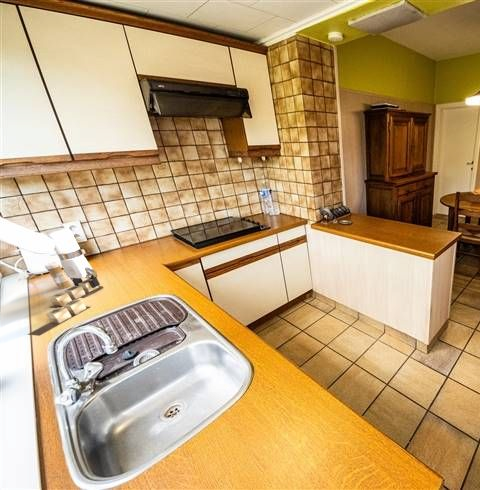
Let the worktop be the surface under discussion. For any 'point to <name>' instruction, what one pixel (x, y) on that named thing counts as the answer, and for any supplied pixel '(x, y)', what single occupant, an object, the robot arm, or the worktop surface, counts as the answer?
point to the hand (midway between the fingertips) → (88, 286)
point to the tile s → (86, 286)
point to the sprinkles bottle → (58, 275)
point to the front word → (61, 315)
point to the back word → (70, 295)
